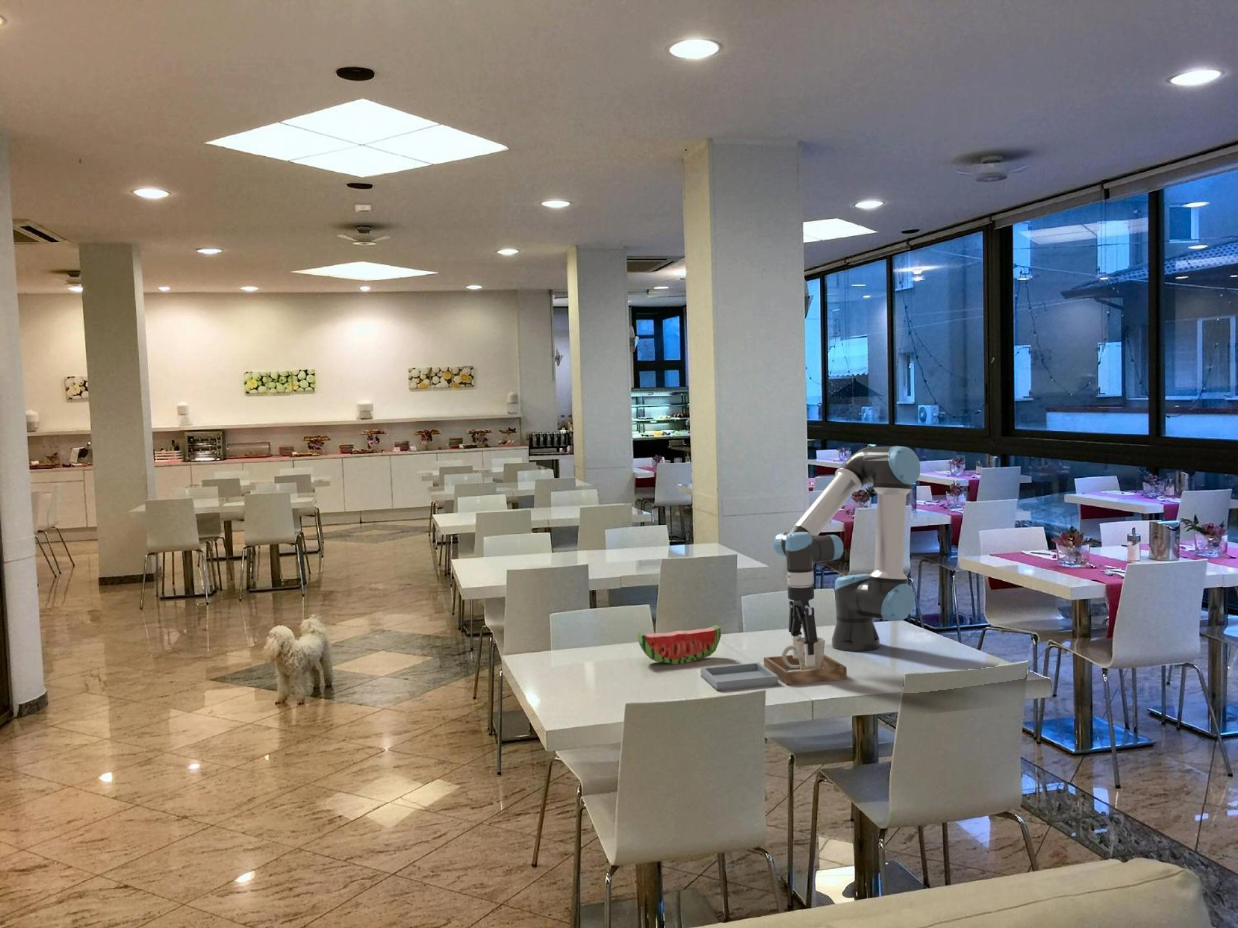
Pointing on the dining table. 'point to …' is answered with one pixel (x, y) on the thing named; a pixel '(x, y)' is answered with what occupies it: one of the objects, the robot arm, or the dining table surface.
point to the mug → (801, 654)
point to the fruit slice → (680, 645)
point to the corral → (828, 673)
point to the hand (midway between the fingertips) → (803, 661)
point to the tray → (739, 676)
